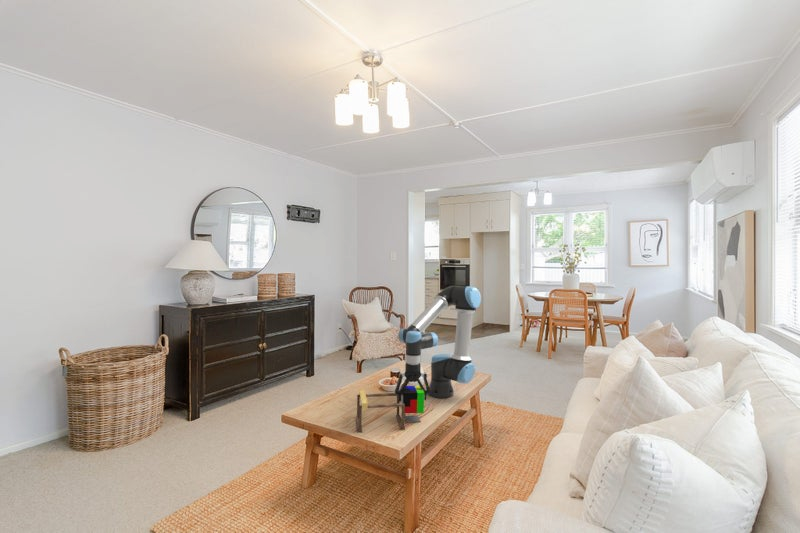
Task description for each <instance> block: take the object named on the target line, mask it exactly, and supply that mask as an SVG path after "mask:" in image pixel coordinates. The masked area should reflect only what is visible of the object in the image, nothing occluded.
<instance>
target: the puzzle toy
mask: <svg viewBox="0 0 800 533" xmlns="http://www.w3.org/2000/svg"><path fill="white" fill-rule="evenodd" d="M402 395H403V403H404V404H405V414H424V413H425V400H424V391H423V390H422V389H421V387H420V385H407V386H406V388H405V389H404V390H403V393H402Z"/></svg>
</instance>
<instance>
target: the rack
mask: <svg viewBox="0 0 800 533" xmlns="http://www.w3.org/2000/svg"><path fill="white" fill-rule="evenodd" d="M365 394H366V398H377V397H396V403H384V404H383V403H382V404H368V408H367V409H379V408H396V415H395V417H396V421H397V423H398V425H399V429H400V430H401V431H405V430H406V426H405V418H404V417H405V416H406V415H405V404H404V403H401V404H400V402H399V400H398V394H395V392H391V393H390V392H389V393H388V392H387V393H365ZM356 396H357V397H356V417H355V420H356V427H357V433H363V425H362V423H363V422H362V418H363V416H362V415H363V412H362V411H363V410H362V404H360V403H361V398H360V394H357V395H356ZM401 407H402V409H401V415H400V408H401Z"/></svg>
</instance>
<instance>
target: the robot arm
mask: <svg viewBox="0 0 800 533" xmlns="http://www.w3.org/2000/svg"><path fill="white" fill-rule="evenodd" d="M481 296H482V294H481V292H480V290H479V289H477V288H476V287H474V286H469V285H467V286H465V285H450V286H448V287H445V288H444V289H442V290H441V291H440V292H438V293H437V295H435V297H434V300H433V301H432V302H431V303H430V304H429V305H428V306H427V307H426V308H425V309H424V311H422V312H421V314H420V315H419V316H418V317H417V318H416V319H415V320H414V321H413V322H412V323H411V324H410V325H409V326H408V327H407V328H406V327H405V328H401V329H400V330H398V334H397V338H398V341H400V342H401V343H404V344H405V367H404V369H405V371H404V373H402V372H399V374H398V380H397V383H396V386H395V388H394V393H395V394H398V400H399V402H400V404H401V403H403V395H402V393H403V390H404V389H405V388H406V386H408V385H409V384H410V383H416V382H417V383H418V386H420V387H421V389H422V390H423V391H424V401H427V396H428V395H429V396H430V397H433V398H436V399H437V398H438V399H448V398H452V397H453V396H454V394H455V393H454V392H455V391H454V387H453V384H452V381H454V382H457V383H459V384H468V383H470V382H471V381H472V380H473V379H474V376H475V374H476V373H475V372H476V367H475V364H473V363H472V361H473V360H472V358H471V357H470V349H471V339H472V327H473V316H474V315H473V314H474V313H475V312H476V311H477V308H479V307H480V306H481V303H482V297H481ZM451 306H455V307H454V308H455V310H456V312H457V313H456V314H457V316H456V317H457V318H456V329H455V338H454V350H453V351H454V352H453V354H449V353H441V354H435V355H433V356H432V357H431V362H430V365H431V366H430V367H431V368H430V369H431V370H430V373H431V374H430V382H428V379H427V377H428V376H427V372H421V368H422V366H421V365H422V364H421V360H422V359H421V358H422V356H421V355H422V350H425V349H430V348H434V347H436V346H437V345H438V344H439V343H438V342H439V337H438V335H437V333H435V332H434V331H433V332H430V331H429V332H424V331H425V330H426V329H427V328H428V327H429V326H430V325H431V324H432V323H433V321H435V320H436V319H437V317H438V316H439V315H440V314H441V313H442V312H443V311H444V310H447V309H448V308H449V307H451ZM404 377H405V380H404V382H402V381H403V379H404ZM421 377H422V378H423V381H424V382H423V383H424V384H425V385H423V384H422V382H421V381H420V378H421ZM401 384H402V385H401ZM424 386H425V387H424ZM400 409H401V410H402V407H400Z"/></svg>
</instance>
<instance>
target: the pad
mask: <svg viewBox="0 0 800 533" xmlns="http://www.w3.org/2000/svg"><path fill="white" fill-rule="evenodd" d="M404 421H405V423H406V424H407V423H408V424H409V423H410V424H411V423H412V424H414V423H421V422H422V421H421V419H420V417H419V415H417V414H414V415H405V417H404Z"/></svg>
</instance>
